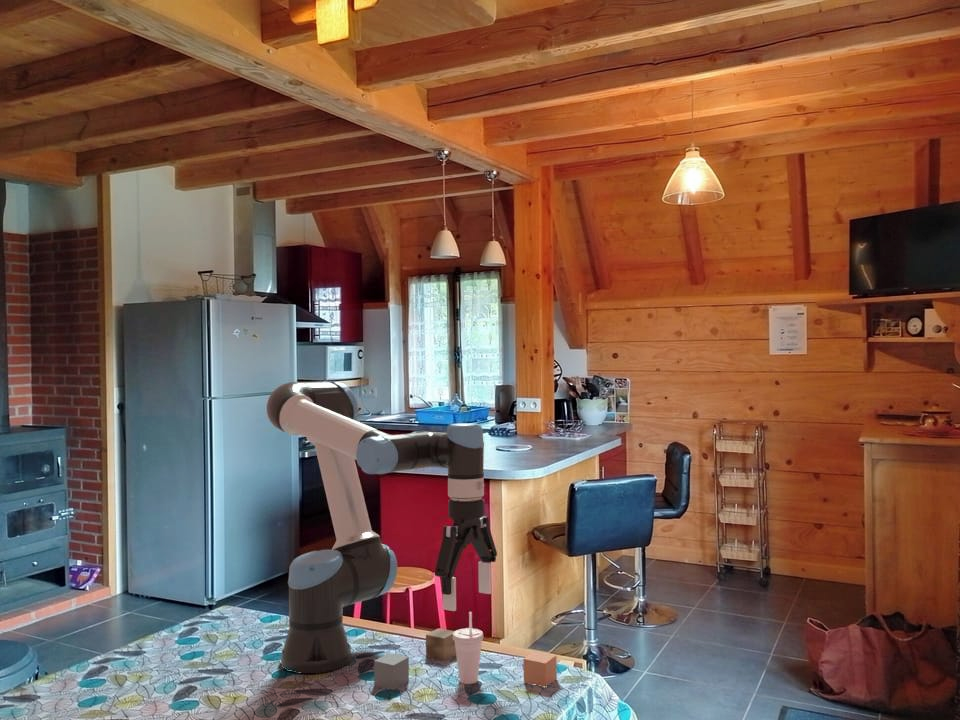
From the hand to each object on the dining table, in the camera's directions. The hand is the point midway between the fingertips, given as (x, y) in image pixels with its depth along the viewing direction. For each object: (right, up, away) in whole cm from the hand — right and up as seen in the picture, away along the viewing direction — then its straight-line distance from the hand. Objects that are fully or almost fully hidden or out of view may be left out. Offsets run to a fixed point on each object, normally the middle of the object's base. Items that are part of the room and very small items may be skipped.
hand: (468, 601), depth 155 cm
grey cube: (-16, -17, -1) cm, 23 cm away
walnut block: (-6, -17, +14) cm, 23 cm away
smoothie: (0, -16, 0) cm, 16 cm away
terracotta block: (+15, -16, -1) cm, 22 cm away
